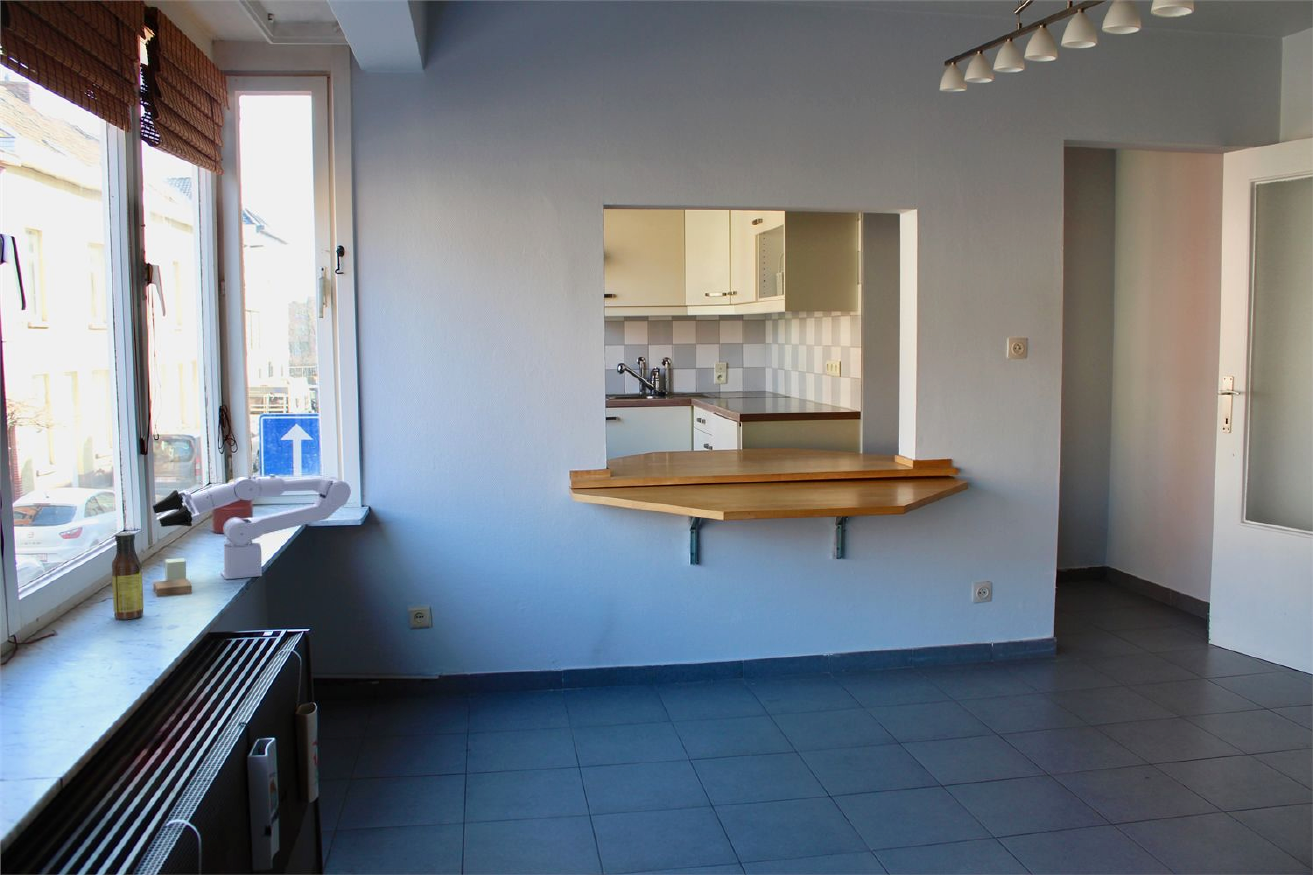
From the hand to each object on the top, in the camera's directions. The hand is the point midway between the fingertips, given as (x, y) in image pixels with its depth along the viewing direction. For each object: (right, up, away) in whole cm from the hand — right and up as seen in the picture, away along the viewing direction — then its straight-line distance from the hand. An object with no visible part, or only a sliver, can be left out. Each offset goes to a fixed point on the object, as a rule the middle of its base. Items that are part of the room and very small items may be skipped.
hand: (157, 516), depth 266 cm
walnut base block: (+7, -19, -6) cm, 22 cm away
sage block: (+3, -18, +3) cm, 19 cm away
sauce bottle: (+8, -22, -30) cm, 38 cm away
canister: (-11, -11, +74) cm, 76 cm away
